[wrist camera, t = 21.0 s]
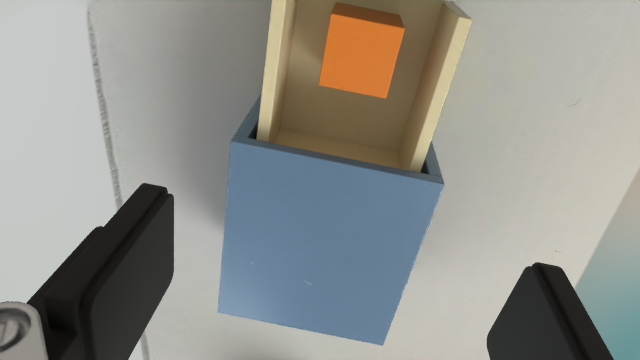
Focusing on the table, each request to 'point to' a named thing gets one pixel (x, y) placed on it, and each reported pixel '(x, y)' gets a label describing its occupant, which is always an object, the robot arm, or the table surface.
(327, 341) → the table surface
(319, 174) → the drawer cabinet
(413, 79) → the drawer
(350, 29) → the matte orange cube
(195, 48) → the table surface
